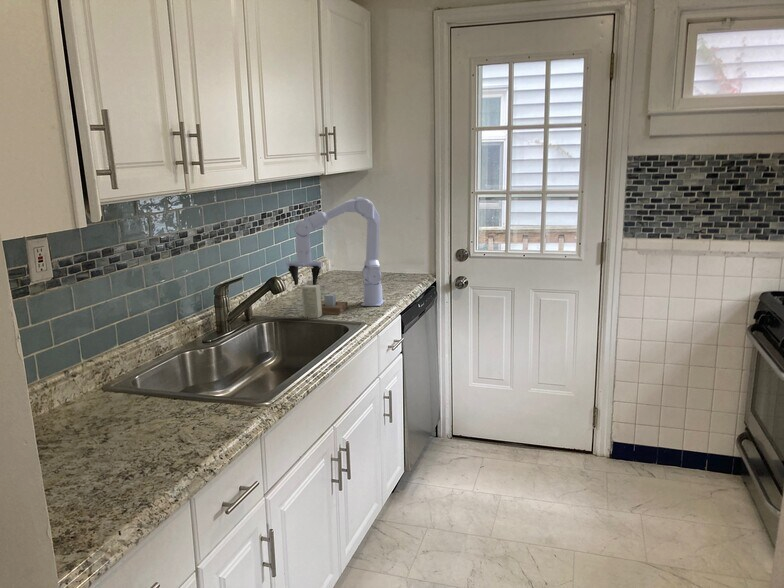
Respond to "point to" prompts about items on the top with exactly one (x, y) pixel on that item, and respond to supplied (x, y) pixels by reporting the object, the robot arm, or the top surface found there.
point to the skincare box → (311, 301)
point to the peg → (330, 299)
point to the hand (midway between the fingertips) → (305, 284)
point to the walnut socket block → (334, 308)
